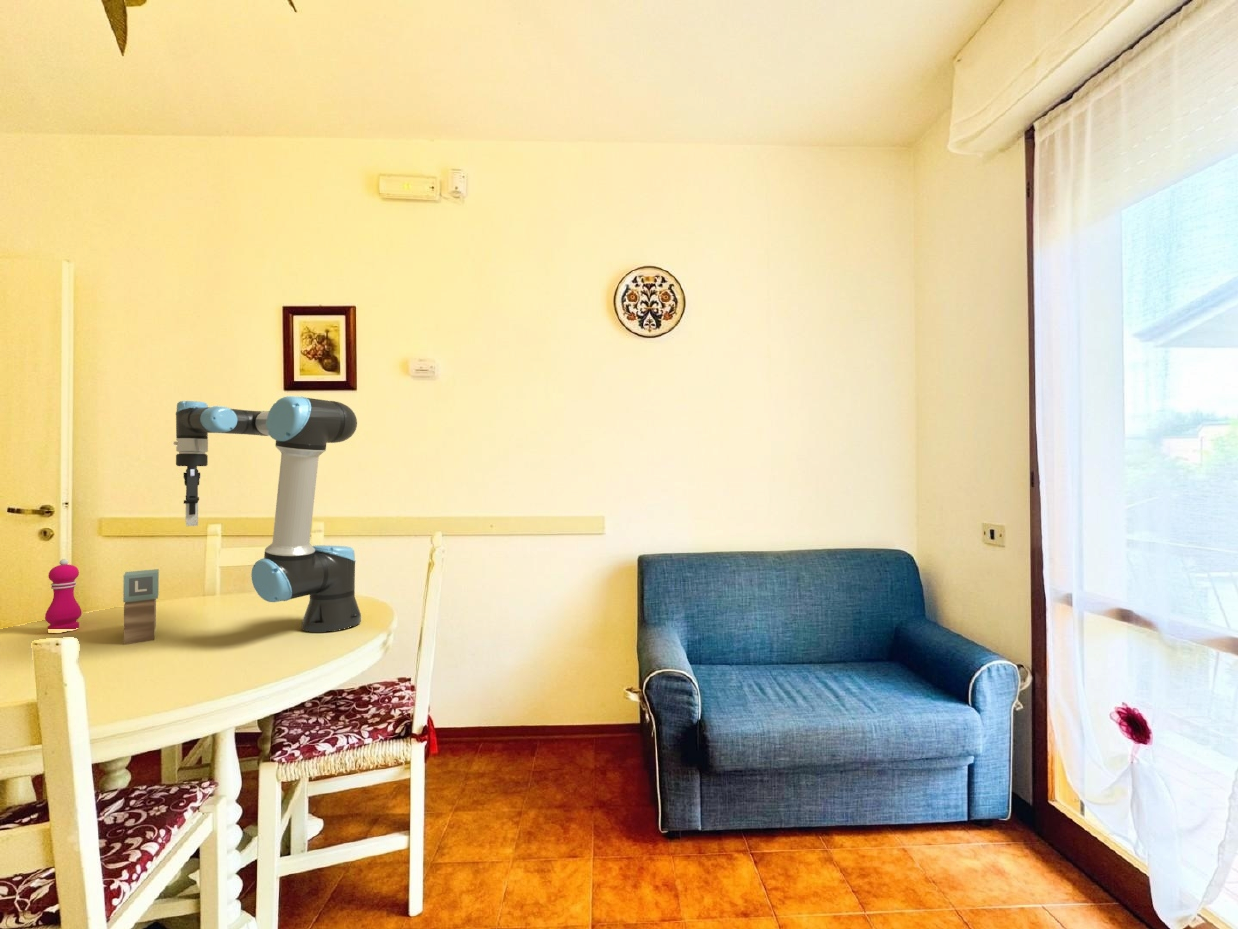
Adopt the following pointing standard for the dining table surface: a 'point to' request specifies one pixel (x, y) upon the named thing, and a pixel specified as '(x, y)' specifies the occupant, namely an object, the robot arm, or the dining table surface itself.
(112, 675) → the dining table surface
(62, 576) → the pepper mill
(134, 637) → the walnut box
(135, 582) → the letter cube
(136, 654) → the dining table surface
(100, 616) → the dining table surface
